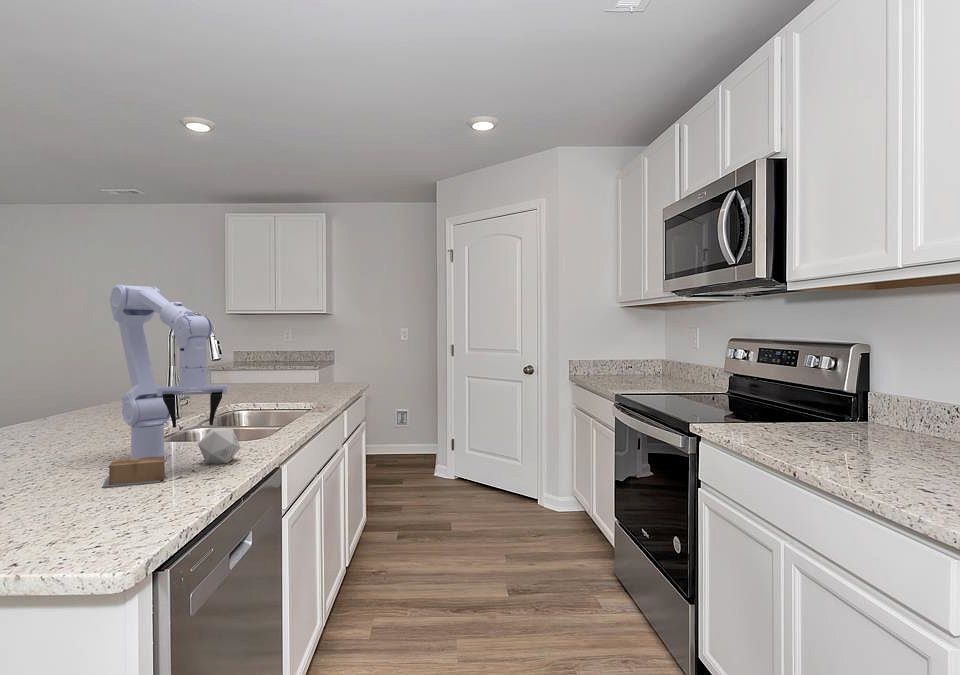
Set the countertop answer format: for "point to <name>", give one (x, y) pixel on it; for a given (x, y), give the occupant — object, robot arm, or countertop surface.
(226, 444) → the die
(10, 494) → the countertop surface
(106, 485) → the mat
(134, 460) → the walnut block
